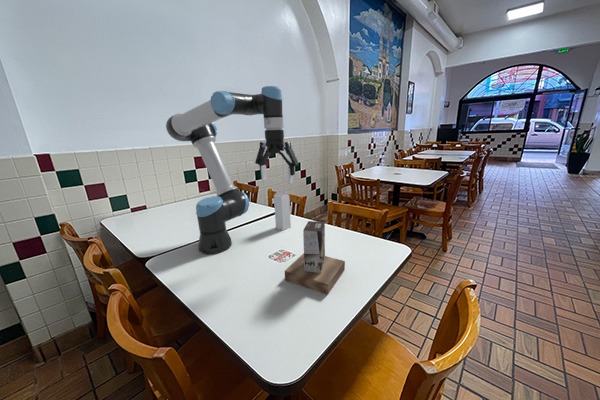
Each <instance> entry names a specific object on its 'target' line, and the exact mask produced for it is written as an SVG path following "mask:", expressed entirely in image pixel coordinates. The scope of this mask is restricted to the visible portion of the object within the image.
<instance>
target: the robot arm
mask: <svg viewBox="0 0 600 400" xmlns="http://www.w3.org/2000/svg"><path fill="white" fill-rule="evenodd" d="M282 96H283V95H282V89H281V87H280V86H276V85H265V86H263V87H262V88H261V92H260V93H257V94H249V93H248V94H246V93H238V92H233V91H226V90H217V91H214V92H213V93H212V95H211V96H210V99H209V100H207V101H205V102H203V103H201V104H200V105H197V106H195V107H193V108H192V109H189V110H187V111H185V112H183V113H175V114H174V115H172V116H170V117H169V118H168V119H167V121H166V123H165V128H166V131H167V133H168V135H169V136H170V137H171V138H172V139H174V140H176V141H179V142H191V143H192V146H193V147H194V148H195V149H197V150H198V152H199V155H200V156H201V158H202V161H203V164H204V165H205V168H206V169H207V172H208V174H209V176H210V178H211V180H212V182H213V185H214V187H215V190H216V192H217V194H216V195H214V196H212V195H211V196H209V197H205V198H202V199H201V200H199V201H198V202H197V203H196V204H195V205H196V206H195V214H196V217H197V218H196V219H197V223H198V230H199V239H198V244H197V248H198V252H200V253H201V252H202V253H201V254H204V253H206V254H205V255H215V254H219V253H222V252H225V251H227V250H228V249H230V248H231V247H232V245H233V242H232V237H231V236H230V233H229V232H228V230H227V226H226V222H228V221H231V220H234V219H235V218H238V217H241V216H243V215H244V214H246V213H247V212H248V210H249V207H250V199H249V197H248V195H247V194H246V193H245V192H244V191H240V189H239V187H237V186H235V185H234V182H233V180H232V178H231V176H230V173H229V172H228V170H227V167H226V165H225V162H224V161H223V159H222V156H221V154H220V152H219V150H218V147H217V145H216V140H217V138H216V137H217V135H218V132H217V130H218V129H217V126H216V124H215V122H216V121H219V120H221V119H223V118H226V117H229V116H231V115H243V116H254V115H255V116H256V115H263V125H264V129H266V130H264V139H265V141H260V142H259V148H258V152H257V154H256V155H257V156H256V159H255V160H254V161H255V162H254V163H255V164H256V165H258V166H259V172H260V176H261V181H262V182H264V181H267V180H268V176H267V175H268V174H267V164H265V163H266V162H267V160H268V159H269V158H270V156H271V154H279V155H280V156H281V158H282V159H283V160H284V161H285V163H286V164H287V166H288V167H287V180H288V182H287V183H288V184H290V185H291V184H293V183H294V175H295V172H296V171H295V168H296V166H299V160H298V159H297V156H296V154H295V152H294V150H293V147H292V142H291V141H284V139H285V133H284V116H283V97H282ZM214 253H215V254H214Z"/></svg>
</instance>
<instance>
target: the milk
mask: <svg viewBox="0 0 600 400" xmlns="http://www.w3.org/2000/svg"><path fill="white" fill-rule="evenodd" d="M273 203H274V217H275V218H274V219H275V221H274V223H275V229H278V230H280V231H283V232H284V231H286V230H288V229H290V228H292V223H291V206H290V205H291V204H290V203H291V202H290V194H288V193H287V192H286V190H285V189H280V188H277V191H276V192H275V193H274V195H273Z"/></svg>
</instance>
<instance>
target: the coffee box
mask: <svg viewBox="0 0 600 400" xmlns="http://www.w3.org/2000/svg"><path fill="white" fill-rule="evenodd" d="M325 224H326V223H325V221H318V220H317V221H312V220H311V221H310V220H308V221H307V223H306V225H305V227H304V228H303V230H302V231H303V253H304V271H307V272H315V273H321V271H322V268H323V265H324V262H325V256H326V247H325V246H326V242H325V241H326V239H325V238H326V231H325V228H326V227H325Z"/></svg>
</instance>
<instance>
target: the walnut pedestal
mask: <svg viewBox="0 0 600 400" xmlns="http://www.w3.org/2000/svg"><path fill="white" fill-rule="evenodd" d="M345 265H346V261H345V260H342V259H339V258H335V257H334V258H333V257H330V256H327V255H325V262H324V265H323V268H322V271H321V273H315V272H307V271H304V252H303V253H302V254H301V255H300V256H299V257H297V258H296V260H295V261H294V262H293V263H291V264H290V265H289V266H288V267H287V268H285V270H284V281H286V282H289V283H292V284H295V285H298V286H301V287H304V288H307V289H309V290H313V291H317V292H319V293H322V294H324V295H329V294H330V292H331V291H332V289H333V288H334V286H335V285H336V283H337V282H338V280H340V278H341V276H342V275H343V273H344V272H345V268H346V266H345Z"/></svg>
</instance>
